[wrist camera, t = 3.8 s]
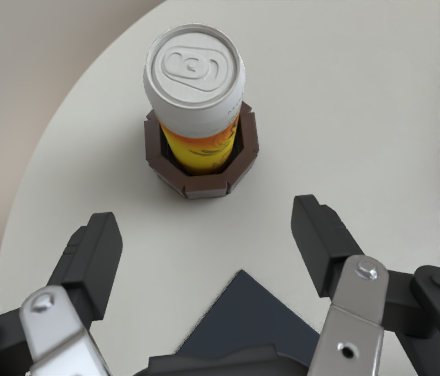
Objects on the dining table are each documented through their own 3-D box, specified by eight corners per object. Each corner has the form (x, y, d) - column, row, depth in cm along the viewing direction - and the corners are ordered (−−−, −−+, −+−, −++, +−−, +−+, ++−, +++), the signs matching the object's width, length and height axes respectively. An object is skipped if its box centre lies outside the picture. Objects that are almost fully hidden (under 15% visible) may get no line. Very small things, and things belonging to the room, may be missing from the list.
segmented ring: (209, 218, 29) (208, 214, 24) (134, 156, 30) (121, 141, 25) (269, 145, 30) (279, 128, 26) (197, 89, 31) (195, 64, 27)
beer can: (224, 183, 29) (235, 126, 15) (168, 170, 29) (124, 101, 15) (236, 131, 30) (258, 29, 16) (182, 119, 31) (154, 6, 16)
